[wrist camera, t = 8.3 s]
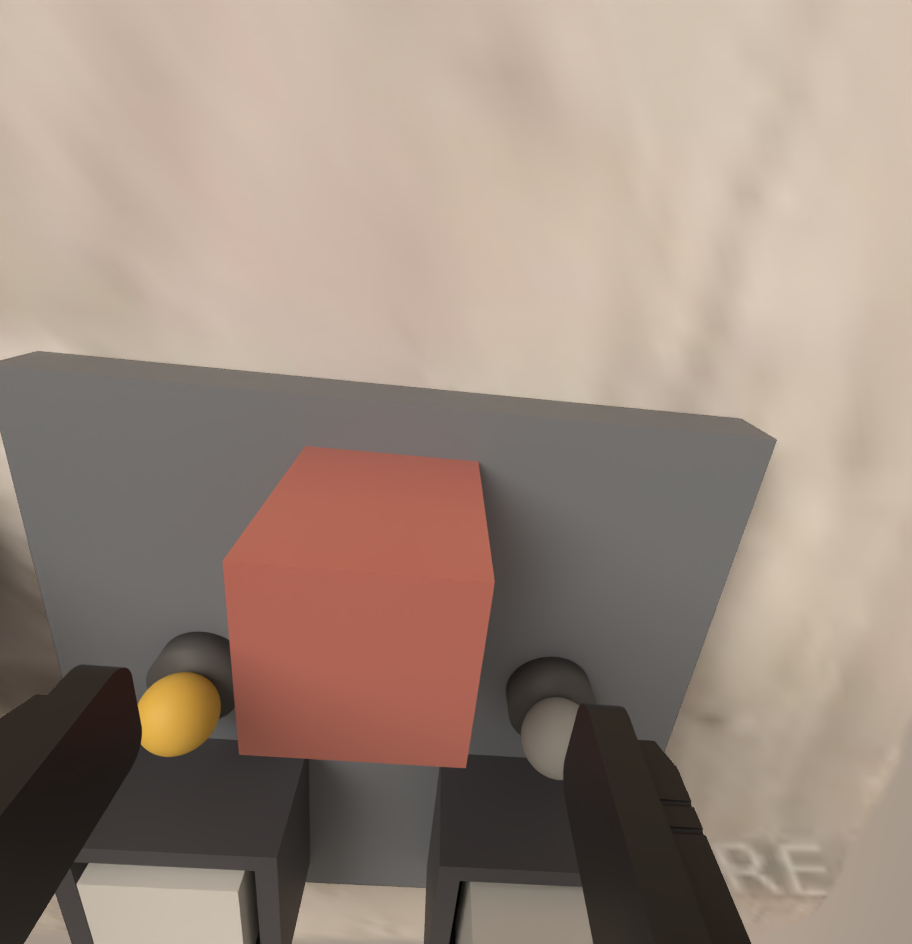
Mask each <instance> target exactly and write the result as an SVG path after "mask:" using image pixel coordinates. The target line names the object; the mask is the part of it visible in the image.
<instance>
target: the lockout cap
mask: <svg viewBox="0 0 912 944" xmlns="http://www.w3.org/2000/svg"><path fill="white" fill-rule="evenodd" d="M223 573H224V584H225V596H226V608H227V619H228V631H229V643H230V655H231V666H232V678H233V690H234V701H235V713H236V725H237V736H238V748H239V755H252V756H269V757H286V758H303V759H319V760H336V761H353V762H370V763H386V764H403V765H420V766H436V767H453V768H466V764H467V758H468V751H469V745H470V739H471V732H472V726H473V719H474V713H475V706H476V700H477V694H478V687H479V681H480V674H481V668H482V661H483V655H484V649H485V642H486V636H487V629H488V623H489V616H490V610H491V604H492V597H493V591H494V584H495V580H494V573H493V565H492V558H491V550H490V543H489V536H488V528H487V521H486V514H485V506H484V499H483V492H482V484H481V477H480V470H479V462H478V461H467V460H456V459H445V458H434V457H422V456H411V455H400V454H389V453H378V452H367V451H355V450H344V449H333V448H322V447H311V446H305V447H304V448H303V450H302V451H301V453H300V454H299V455H298V457H297V458H296V460H295V461H294V462H293V464H292V465H291V466H290V468H289V469H288V471H287V472H286V473H285V475H284V476H283V478H282V479H281V480H280V482H279V483H278V485H277V486H276V487H275V489H274V490H273V491H272V493H271V494H270V496H269V497H268V498H267V500H266V501H265V503H264V504H263V505H262V507H261V508H260V510H259V511H258V512H257V514H256V515H255V517H254V518H253V519H252V521H251V522H250V523H249V525H248V526H247V528H246V529H245V530H244V532H243V533H242V535H241V536H240V537H239V539H238V540H237V542H236V543H235V544H234V546H233V547H232V549H231V550H230V551H229V553H228V554H227V555H226V557H225V558H224V560H223Z"/></svg>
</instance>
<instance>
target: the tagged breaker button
mask: <svg viewBox="0 0 912 944" xmlns="http://www.w3.org/2000/svg"><path fill="white" fill-rule="evenodd" d="M76 885H77V888H78V891H79V895H80V898H81V901H82V905H83V908H84V912H85V915H86V918H87V922H88V925H89V928H90V932H91V935H92V938H93V942H94V944H256V940H257V937H258V933H259V920H258V907H257V894H256V881H255V871H243V870H223V869H202V868H182V867H161V866H141V865H120V864H100V863H89V864H88V865H87V867H86V869H85V870H84V872H83V874H82V876H81V877H80V879H79V881H78V882H77V884H76Z"/></svg>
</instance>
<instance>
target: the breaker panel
mask: <svg viewBox="0 0 912 944" xmlns="http://www.w3.org/2000/svg"><path fill="white" fill-rule="evenodd" d="M0 432H1V436H2V440H3V444H4V448H5V452H6V456H7V460H8V464H9V468H10V472H11V476H12V480H13V484H14V488H15V492H16V496H17V500H18V504H19V508H20V512H21V516H22V520H23V524H24V528H25V532H26V535H27V539H28V543H29V547H30V551H31V555H32V559H33V563H34V567H35V571H36V575H37V579H38V583H39V587H40V591H41V595H42V599H43V603H44V607H45V611H46V615H47V619H48V623H49V627H50V631H51V635H52V639H53V643H54V647H55V651H56V655H57V659H58V663H59V667H60V671H61V675H62V679H63V678H64V677H65V675H66V674H67V673H68V672H69V671H70V670H71V669H73V668H74V667H76V666H78V665H81V664H84V665H98V666H111V667H125V668H128V669H129V670H130V672H131V674H132V678H133V683H134V688H135V694H136V699H137V704H138V709H139V715H140V720H141V725H142V740H141V745H140V749H139V752H138V755H137V757H136V760H135V762H134V764H133V766H132V768H131V770H130V771H129V773H128V775H127V776H126V778H125V780H124V781H123V783H122V784H121V786H120V788H119V789H118V791H117V793H116V794H115V796H114V797H113V799H112V801H111V802H110V804H109V806H108V807H107V809H106V810H105V812H104V814H103V815H102V817H101V819H100V820H99V822H98V824H97V825H96V827H95V828H94V830H93V832H92V833H91V835H90V837H89V838H88V840H87V841H86V843H85V845H84V846H83V848H82V850H81V851H80V853H79V854H78V856H77V858H76V859H75V861H74V863H73V864H72V866H71V867H70V869H69V871H68V872H67V874H66V876H65V877H64V879H63V881H62V882H61V884H60V885H59V887H58V889H57V890H56V892H55V894H56V897H57V900H58V903H59V906H60V909H61V912H62V915H63V918H64V921H65V924H66V927H67V930H68V934H69V937H70V940H71V943H72V944H94V942H93V938H92V935H91V932H90V928H89V925H88V922H87V918H86V915H85V912H84V908H83V905H82V901H81V898H80V895H79V891H78V888H77V885H76V884H77V882H78V881H79V879H80V877H81V876H82V874H83V872H84V870H85V869H86V867H87V865H88V864H89V863H100V864H120V865H141V866H161V867H182V868H202V869H223V870H243V871H255V881H256V894H257V907H258V920H259V933H258V937H257V940H256V944H292V939H293V935H294V930H295V926H296V922H297V917H298V913H299V908H300V904H301V899H302V895H303V891H304V886H305V882H312V883H333V884H354V885H374V886H395V887H416V888H426V904H425V931H424V944H456V943H455V920H456V914H457V909H458V903H459V897H460V891H461V885H462V881H469V882H490V883H510V884H531V885H551V886H572V887H582V884H581V879H580V874H579V869H578V863H577V858H576V853H575V848H574V843H573V838H572V833H571V828H570V823H569V818H568V813H567V808H566V802H565V797H564V788H563V767H564V760H565V756H566V752H567V748H568V744H569V741H570V737H571V733H572V729H573V725H574V722H575V718H576V714H577V710H578V708H579V706H580V704H582V703H585V704H599V705H612V706H622V707H624V708H625V709H626V711H627V713H628V715H629V717H630V720H631V723H632V725H633V728H634V731H635V734H636V736H637V739H638V740H649V741H655V742H656V743H657V744H658V746H659V747H660V748H661V749H662V751H663V752H664V751H665V748H666V746H667V743H668V740H669V737H670V735H671V732H672V729H673V726H674V724H675V721H676V718H677V715H678V712H679V710H680V707H681V704H682V701H683V699H684V696H685V693H686V690H687V688H688V685H689V682H690V679H691V676H692V674H693V671H694V668H695V665H696V663H697V660H698V657H699V654H700V652H701V649H702V646H703V643H704V640H705V638H706V635H707V632H708V629H709V627H710V624H711V621H712V618H713V616H714V613H715V610H716V607H717V604H718V602H719V599H720V596H721V593H722V591H723V588H724V585H725V582H726V580H727V577H728V574H729V571H730V568H731V566H732V563H733V560H734V557H735V555H736V552H737V549H738V546H739V544H740V541H741V538H742V535H743V532H744V530H745V527H746V524H747V521H748V519H749V516H750V513H751V510H752V508H753V505H754V502H755V499H756V496H757V494H758V491H759V488H760V485H761V483H762V480H763V477H764V474H765V472H766V469H767V466H768V463H769V460H770V458H771V455H772V452H773V449H774V447H775V444H776V441H777V439H775V438H773V437H772V436H770V435H768V434H766V433H765V432H763V431H761V430H760V429H758V428H756V427H755V426H753V425H751V424H749V423H748V422H746V421H744V420H743V419H738V418H728V417H717V416H707V415H697V414H686V413H676V412H665V411H655V410H645V409H634V408H624V407H613V406H603V405H593V404H582V403H572V402H561V401H551V400H541V399H530V398H520V397H509V396H499V395H489V394H478V393H468V392H457V391H447V390H437V389H426V388H416V387H405V386H395V385H385V384H374V383H364V382H353V381H343V380H333V379H322V378H312V377H301V376H291V375H281V374H270V373H260V372H249V371H239V370H229V369H218V368H208V367H197V366H187V365H177V364H166V363H156V362H145V361H135V360H125V359H114V358H104V357H93V356H83V355H73V354H62V353H52V352H41V351H36V352H32V353H28V354H24V355H20V356H16V357H12V358H8V359H5V360H1V361H0ZM305 446H311V447H322V448H333V449H344V450H355V451H367V452H378V453H389V454H400V455H411V456H422V457H434V458H445V459H456V460H467V461H478V462H479V470H480V477H481V484H482V492H483V499H484V506H485V514H486V521H487V528H488V536H489V543H490V550H491V558H492V565H493V573H494V580H495V584H494V591H493V597H492V604H491V610H490V616H489V623H488V629H487V636H486V642H485V649H484V655H483V661H482V668H481V674H480V681H479V687H478V694H477V700H476V706H475V713H474V719H473V726H472V732H471V739H470V745H469V751H468V758H467V764H466V768H453V767H436V766H420V765H403V764H386V763H370V762H353V761H336V760H319V759H303V758H286V757H269V756H252V755H239V748H238V736H237V725H236V713H235V701H234V690H233V678H232V666H231V655H230V643H229V631H228V619H227V608H226V596H225V584H224V573H223V560H224V558H225V557H226V555H227V554H228V553H229V551H230V550H231V549H232V547H233V546H234V544H235V543H236V542H237V540H238V539H239V537H240V536H241V535H242V533H243V532H244V530H245V529H246V528H247V526H248V525H249V523H250V522H251V521H252V519H253V518H254V517H255V515H256V514H257V512H258V511H259V510H260V508H261V507H262V505H263V504H264V503H265V501H266V500H267V498H268V497H269V496H270V494H271V493H272V491H273V490H274V489H275V487H276V486H277V485H278V483H279V482H280V480H281V479H282V478H283V476H284V475H285V473H286V472H287V471H288V469H289V468H290V466H291V465H292V464H293V462H294V461H295V460H296V458H297V457H298V455H299V454H300V453H301V451H302V450H303V448H304V447H305Z"/></svg>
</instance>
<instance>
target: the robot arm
mask: <svg viewBox="0 0 912 944" xmlns="http://www.w3.org/2000/svg"><path fill="white" fill-rule="evenodd" d="M141 740H142V725H141V720H140V715H139V709H138V704H137V699H136V694H135V688H134V683H133V678H132V674H131V672H130V670H129V669H128V668H125V667H111V666H98V665H84V664H81V665H78V666H76V667H74V668H73V669H71V670H70V671H69V672H68V673H67V674H66V675H65V677H64V678H63V679H62V680H61V681H60V682H59V683H58V684H57V685H56V687H55V688H54V689H53V690H52V691H51V692H50V693H49V694H48V695H35V696H33V697H32V698H30V699H29V700H27V701H26V702H24V703H23V704H21V705H20V706H18V707H17V708H15V709H14V710H12V711H11V712H9V713H8V714H6V715H5V716H3V717H2V718H0V944H24V942H25V941H26V939H27V938H28V936H29V934H30V933H31V931H32V929H33V928H34V926H35V924H36V923H37V921H38V920H39V918H40V916H41V915H42V913H43V911H44V910H45V908H46V907H47V905H48V903H49V902H50V900H51V898H52V897H53V895H54V894H55V892H56V890H57V889H58V887H59V885H60V884H61V882H62V881H63V879H64V877H65V876H66V874H67V872H68V871H69V869H70V867H71V866H72V864H73V863H74V861H75V859H76V858H77V856H78V854H79V853H80V851H81V850H82V848H83V846H84V845H85V843H86V841H87V840H88V838H89V837H90V835H91V833H92V832H93V830H94V828H95V827H96V825H97V824H98V822H99V820H100V819H101V817H102V815H103V814H104V812H105V810H106V809H107V807H108V806H109V804H110V802H111V801H112V799H113V797H114V796H115V794H116V793H117V791H118V789H119V788H120V786H121V784H122V783H123V781H124V780H125V778H126V776H127V775H128V773H129V771H130V770H131V768H132V766H133V764H134V762H135V760H136V757H137V755H138V752H139V749H140V745H141ZM563 788H564V797H565V802H566V808H567V813H568V818H569V823H570V828H571V833H572V838H573V843H574V848H575V853H576V858H577V863H578V869H579V874H580V879H581V884H582V889H583V894H584V899H585V904H586V909H587V914H588V919H589V924H590V929H591V935H592V940H593V944H751V942H750V939H749V937H748V935H747V932H746V930H745V928H744V925H743V923H742V920H741V918H740V916H739V913H738V911H737V909H736V906H735V904H734V901H733V899H732V897H731V894H730V892H729V890H728V887H727V885H726V882H725V880H724V878H723V875H722V873H721V871H720V868H719V866H718V864H717V861H716V859H715V856H714V854H713V852H712V849H711V847H710V845H709V842H708V840H707V837H706V836H705V835H703V832H702V829H703V828H702V826H701V823H700V821H699V818H698V816H697V814H696V811H695V809H694V807H692V806H691V800H690V797H689V795H688V792H687V790H686V788H685V785H684V783H683V781H682V778H681V776H680V773H679V771H678V769H677V768H676V766H675V765H674V764H673V763H672V761H671V760H670V759H669V758H668V757H667V755H666V754H665V753H664V752H663V751H662V749H661V748H660V747H659V746H658V744H657V743H656V742H655V741H649V740H638V739H637V736H636V734H635V731H634V728H633V725H632V723H631V720H630V717H629V715H628V713H627V711H626V709H625V708H624V707H622V706H612V705H599V704H585V703H582V704H580V706H579V708H578V710H577V714H576V718H575V722H574V725H573V729H572V733H571V737H570V741H569V744H568V748H567V752H566V756H565V760H564V767H563Z"/></svg>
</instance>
